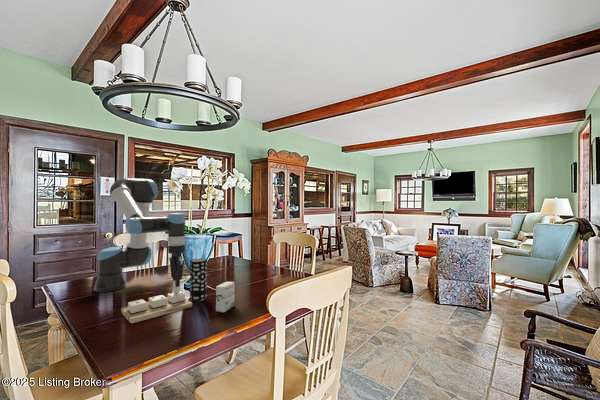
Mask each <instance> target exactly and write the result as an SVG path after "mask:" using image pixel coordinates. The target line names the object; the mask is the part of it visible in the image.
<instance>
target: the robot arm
mask: <svg viewBox="0 0 600 400" xmlns="http://www.w3.org/2000/svg"><path fill="white" fill-rule="evenodd" d="M158 194H159V193H158V185H157V184H156V182H155V181H154V180H152V179H148V178H128V177H127V178H126V177H125V178H120V179H118V180H116V181H114V182H113V183H112V184H111V186H110V188H109V196H110V197H111V199H112V200H113V201H114V202H116V204H117V205H118V207H119V209H120V210H121V212H122V213H123V215H124V217H125V219H126V221H125V231H126V233H127V234H130V237H129V238H130V239H129V242H128V243H127V244H126V247H124V248H123V246H111V247H106V248H104V249H101V250H99V252H98V255H97V256H98V257H97V262H98V265H97V267H98V269H97V273H98V275H97V279H96V281H95V284H94V287H93V291H94V292H95V291H96V292H95V293H110V292H109V291H111V292H115V291H116V292H117V291H120V290H122V289H125V288H126V287H127V283H126V278H125V277H124V273H123V269H126V268H127V269H128V268H133V267H141V266H144V265H148V264H149V263H150V261H151V259H152V257H153V256H152V254H153V252H152V247H151V246H150V245H149V243H148V242H147V235H148V233H149V234H150V233H161V232H162V233H164V232H168V233H167V243H168V247H167V249H168V250H167V253H168V254H170V255H171V257H168V259H169V265H170V277H171V278H172V293H174V294H176V293H180V291H181V280H182V279H183V272H184V264H185V260H183V256H182V254H183V253H185V252H186V246H185V245H186V244H185V243H186V217H185V216H186V215H185V214H184V213H179V212H178V213H177V212H173V213H168V215H167V216H166V215H165V216H152V217H151V216H150V215H149V214H150V205H151V204H153V202H154V200H155V199H157V197H158ZM149 216H150V217H149Z"/></svg>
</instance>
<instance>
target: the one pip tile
mask: <svg viewBox="0 0 600 400" xmlns="http://www.w3.org/2000/svg"><path fill="white" fill-rule="evenodd" d="M147 302H148V301H145V300H144V299H136V300H132V301H129V302H127V307H128V310H129V311H130V312H131V314H136V313H140V312H144V310H147Z"/></svg>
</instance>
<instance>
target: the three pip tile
mask: <svg viewBox="0 0 600 400" xmlns="http://www.w3.org/2000/svg"><path fill="white" fill-rule="evenodd" d="M167 297H168V301H170V302H171V304H176V303H180V302H181V301H183V300H185V299H186V294H185V293H184V292H183V291H181V290H180V293H176V294H174V293H173V292H168V293H167Z"/></svg>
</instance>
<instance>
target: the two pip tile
mask: <svg viewBox="0 0 600 400" xmlns="http://www.w3.org/2000/svg"><path fill="white" fill-rule="evenodd" d="M148 302H149V305H150V306H151V307H152V308H151V309H156V308H160V307H164V306H163V305H167V297H166V296H165V295H163V294H161V295H156V296H155V295H154V296H152V297H151V296H150V297H148Z"/></svg>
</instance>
